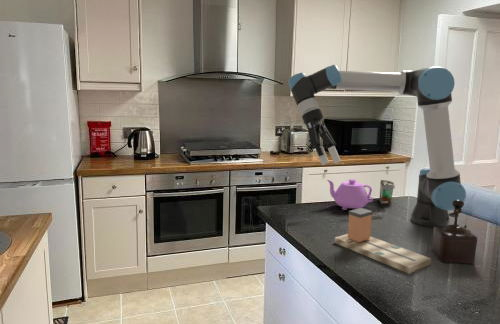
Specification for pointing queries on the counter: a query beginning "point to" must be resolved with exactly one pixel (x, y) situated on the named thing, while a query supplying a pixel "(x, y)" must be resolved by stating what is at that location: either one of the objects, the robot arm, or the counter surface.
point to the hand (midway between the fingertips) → (331, 163)
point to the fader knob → (359, 224)
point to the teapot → (350, 194)
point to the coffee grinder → (454, 241)
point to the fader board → (386, 253)
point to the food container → (386, 191)
